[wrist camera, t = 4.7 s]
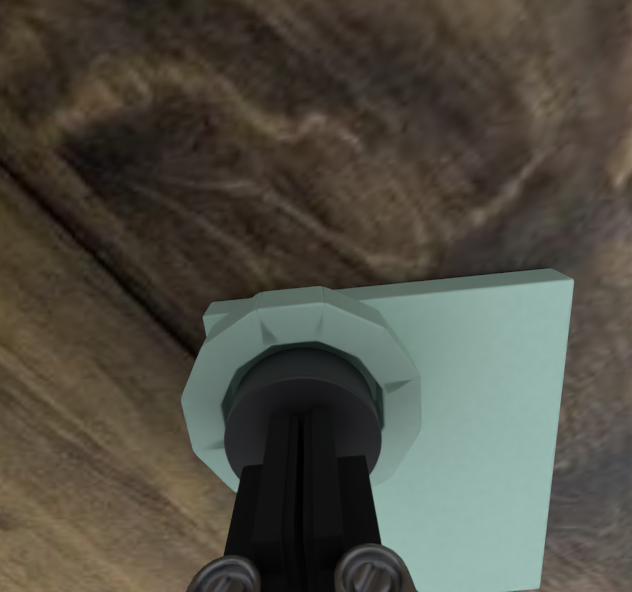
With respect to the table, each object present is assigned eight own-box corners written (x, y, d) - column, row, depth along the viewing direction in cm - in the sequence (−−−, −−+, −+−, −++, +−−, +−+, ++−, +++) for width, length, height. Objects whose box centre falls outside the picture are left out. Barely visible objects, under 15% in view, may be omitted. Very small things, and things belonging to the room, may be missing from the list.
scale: (188, 285, 15) (160, 318, 12) (553, 249, 14) (613, 273, 11) (251, 583, 19) (242, 658, 17) (524, 559, 19) (562, 630, 16)
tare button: (222, 354, 12) (209, 384, 11) (369, 339, 12) (378, 368, 11) (245, 471, 14) (237, 514, 12) (376, 458, 14) (385, 500, 12)
